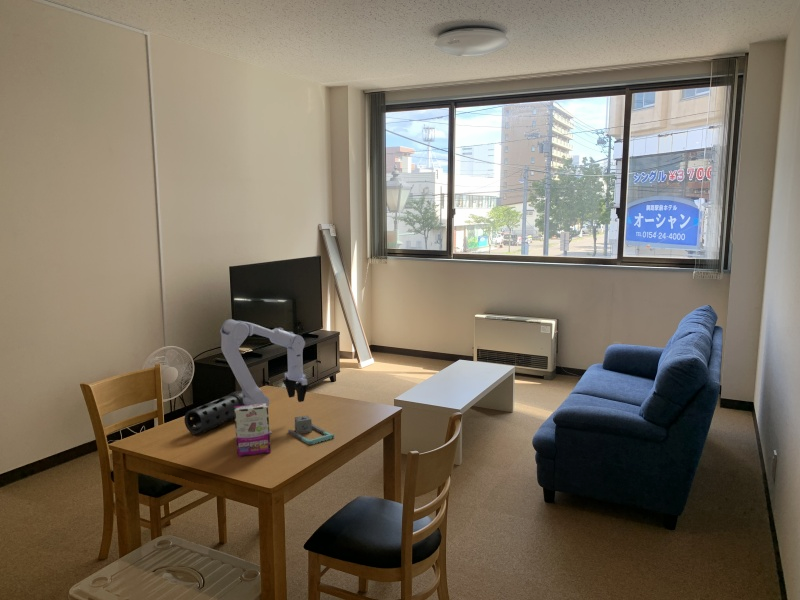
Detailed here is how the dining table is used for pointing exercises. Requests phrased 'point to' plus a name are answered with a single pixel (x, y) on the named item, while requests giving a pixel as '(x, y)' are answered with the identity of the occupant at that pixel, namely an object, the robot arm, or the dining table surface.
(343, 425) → the dining table surface
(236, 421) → the candy bar box
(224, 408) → the muzzle brake
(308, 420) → the dice cube
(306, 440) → the guide lane
